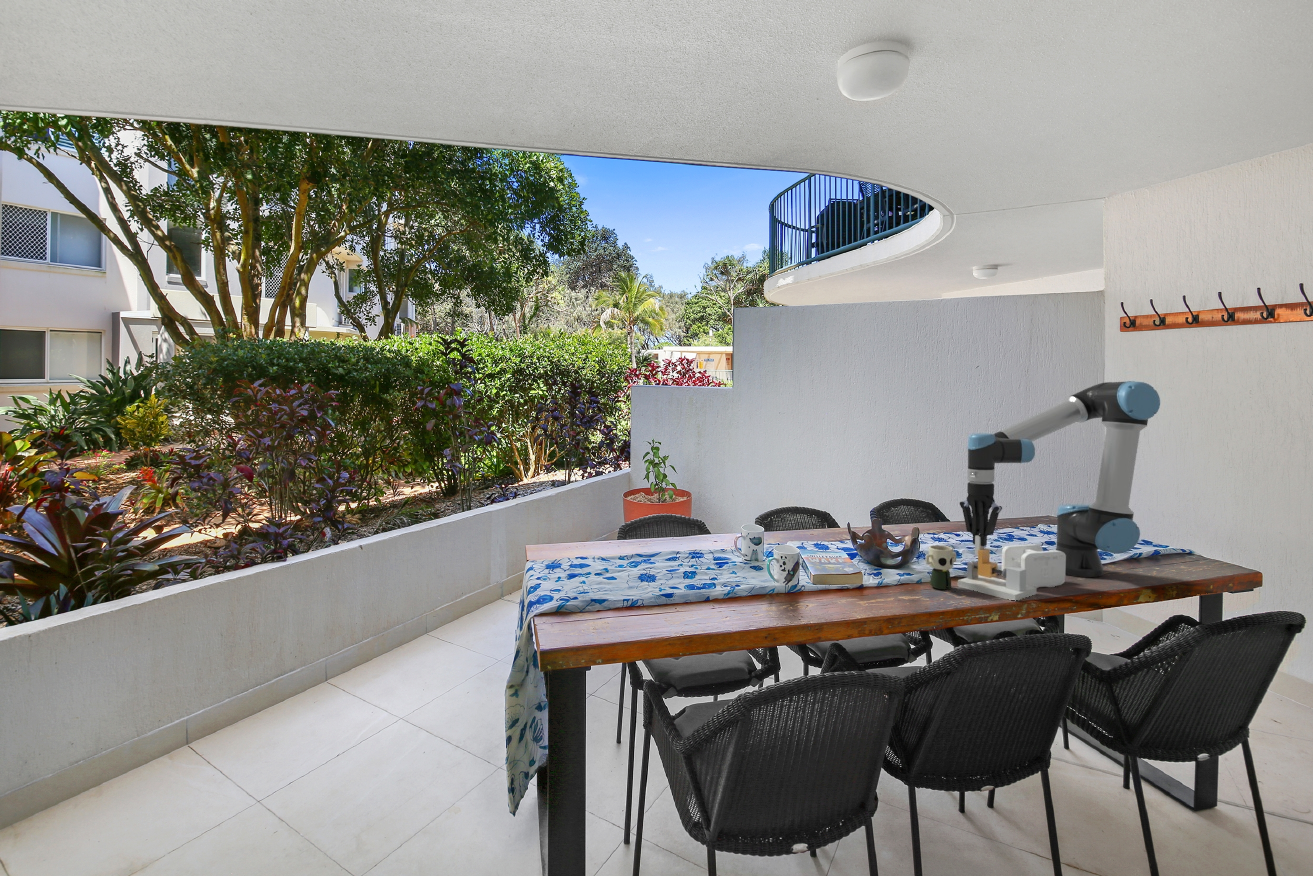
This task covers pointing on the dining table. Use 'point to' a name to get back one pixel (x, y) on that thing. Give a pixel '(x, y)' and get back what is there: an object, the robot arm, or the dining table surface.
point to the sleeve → (985, 564)
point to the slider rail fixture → (998, 582)
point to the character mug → (940, 565)
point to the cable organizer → (1036, 564)
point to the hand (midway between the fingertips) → (979, 555)
